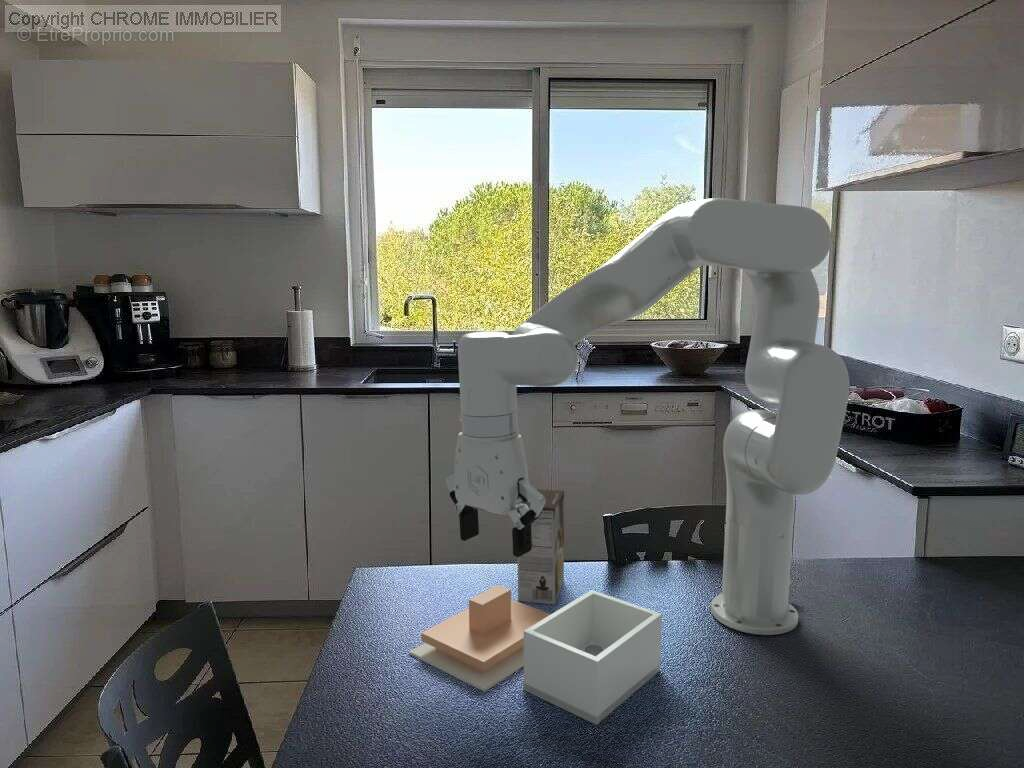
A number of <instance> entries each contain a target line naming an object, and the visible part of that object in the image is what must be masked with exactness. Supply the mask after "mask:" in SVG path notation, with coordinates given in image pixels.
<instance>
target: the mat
mask: <svg viewBox="0 0 1024 768" xmlns="http://www.w3.org/2000/svg"><path fill="white" fill-rule="evenodd" d="M408 652H409V655H410V656H412V657H415V658H416V659H419V660H420V661H422V662H424V663H426V664H428V665H431V666H432V667H434V668H437V669H438V670H440V671H442V672H445V673H447V674H448V675H450V676H452V677H454V678H456V679H458V680H460V681H462V682H464V683H465V684H468V685H470V686H471V687H474V688H476V689H478V690H480V691H482V692H483V693H485V692H487V691H488V690H490V689H491V688H492V687H494V686H496V685H497V684H499V683H500V682H502V681H503V680H505V679H506V678H508V677H509V676H511V675H512V674H514V673H515V672H516V671H519V670H520V669H522V668H524V647H523V648H522V649H520V650H519V651H517V652H515V653H514V654H512V655H511V656H509V657H508V658H506V659H504V660H503V661H501V662H500V663H498V664H497V665H495V666H493V667H492V668H490V669H489V670H487V671H486V672H484V673H482V672H480V671H478V670H476V669H474V668H472V667H470V666H468V665H466V664H463V663H461V662H459V661H457V660H455V659H453V658H451V657H449V656H447V655H445V654H443V653H440V652H438V651H436V648H435V647H433V646H431V645H429V644H427V643H424V642H423V643H422V644H420V645H419V646H416V647H415V648H412V649H410V650H409V651H408Z"/></svg>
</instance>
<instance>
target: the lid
mask: <svg viewBox="0 0 1024 768" xmlns="http://www.w3.org/2000/svg"><path fill="white" fill-rule="evenodd" d="M551 614H552V613H549V612H546V611H543V610H540V609H538V608H536V607H533V606H531V605H527V604H525V603H522V602H520V601H517V600H515V599H512V589H511V588H508V587H504V586H502V585H500V584H497V585H494V586H492V587H490V588H488V589H487V590H485V591H483V592H481V593H479V594H477V595H475V596H473V597H471V598H469V599H468V607H467V608H466V609H464V610H462V611H460V612H458V613H456V614H454V615H453V616H450V617H449V618H447V619H445V620H443V621H441V622H440V623H437V624H435V625H433V626H432V627H430V628H428V629H426V630H424V631H422V632H421V633H420V637H421V638H420V640H421V642H423V644H424V643H427V644H429V645H431V646H433V647H435V648H436V651H438V652H440V653H443V654H445V655H447V656H449V657H451V658H453V659H455V660H457V661H459V662H461V663H463V664H466V665H468V666H470V667H472V668H474V669H476V670H478V671H480V672H482V673H484V672H486V671H487V670H489V669H490V668H492V667H493V666H495V665H497V664H498V663H500V662H501V661H503V660H504V659H506V658H508V657H509V656H511V655H512V654H514V653H515V652H517V651H519V650H520V649H522V648H523V647H524V630H526V629H528V628H529V627H531V626H533V625H534V624H536V623H538V622H539V621H541V620H543V619H544V618H546V617H548V616H549V615H551Z"/></svg>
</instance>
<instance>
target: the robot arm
mask: <svg viewBox="0 0 1024 768" xmlns="http://www.w3.org/2000/svg"><path fill="white" fill-rule="evenodd" d="M831 245H832V232H831V228H830V226H829V223H828V221H827V220H826V219H825V218H824V216H823V215H821V214H820V213H819V212H817V211H816V210H814V209H812V208H809V207H806V206H800V205H792V204H790V205H789V204H780V203H770V202H759V201H753V200H752V201H751V200H742V199H741V200H740V199H734V198H733V199H732V198H724V197H712V198H705V199H698V200H693V201H688V202H683V203H681V204H679V205H676V206H675V207H672V208H671V209H669V210H668V212H666V213H665V214H663V216H661V217H660V218H659V219H658V220H656V221H655V222H654V223H653V224H651V225H650V226H649V227H648V228H646V229H645V230H644V231H643V232H642V233H640V234H639V235H638V236H636V238H634V239H633V240H632V241H631V242H630V243H628V244H627V245H626V246H625V247H624V248H622V249H621V250H619V251H618V252H617V253H616V254H614V255H613V256H612V257H611V258H610V259H608V260H607V261H606V262H604V263H603V264H601V265H600V266H599V267H598V268H595V269H594V270H593V271H591V272H590V273H588V274H587V275H585V276H584V277H583V278H581V279H580V280H578V281H576V282H575V283H574V284H572V285H571V286H569V287H567V288H566V289H565V290H563V291H562V292H559V294H557V295H556V296H555V297H553V298H552V299H550V300H549V301H548V302H547V303H545V304H544V305H543V306H542V307H540V308H539V309H538V310H537V311H535V312H534V313H533V314H532V315H531V316H529V317H528V318H527V319H526V320H525V321H523V322H522V323H521V324H520V325H519V326H518V327H516V329H515V330H514V331H513V332H512V334H510V333H508V332H505V331H495V330H488V331H485V330H484V331H476V332H475V331H474V332H468V333H466V334H464V335H463V334H462V336H461V337H460V338H459V339H458V342H457V359H458V363H457V364H458V378H459V379H458V380H459V396H460V397H459V398H460V400H459V401H460V412H459V414H458V420H459V421H460V422H461V432H459V433H458V435H457V439H456V446H455V453H454V454H455V455H454V473H452V474H451V475H449V476H446V477H445V479H444V481H445V484H446V488H447V489H448V492H449V498H450V499H451V501H452V502H453V503H454V505H455V506H454V510H455V512H457V513H458V514H459V515H458V517H459V518H458V519H459V535H460V536H459V537H460V540H461V541H464V542H466V541H468V540H471V539H472V538H474V537H476V536H479V534H480V529H479V528H480V527H479V526H480V525H479V510H480V511H481V510H482V511H485V512H490V513H493V514H499V515H507V514H508V515H509V518H510V519H511V521H512V523H513V524H514V525H515V526H514V527H512V530H511V536H512V554H513V556H514V557H516V558H518V557H520V556H522V555H524V554H525V553H527V552H529V551H531V549H532V535H531V524H533V523H534V522H535V520H536V519H537V518H538V517H539V516H540V515H541V511H542V509H543V507H544V505H545V502H546V498H545V497H544V496H543V495H542V494H541V493H539V492H538V491H537V490H536V488H535V487H533V486H532V485H531V484H530V483H529V472H528V465H527V456H526V451H525V447H524V441H523V438H522V435H521V434H519V419H518V418H519V415H518V393H517V386H527V387H528V386H529V387H543V388H547V387H548V388H549V387H555V386H558V385H562V384H563V383H565V382H567V381H568V380H569V379H570V378H571V377H572V376H573V374H575V373H576V372H575V371H576V369H577V367H578V363H579V356H578V355H579V354H578V350H577V347H576V345H577V344H578V343H580V342H581V341H583V340H584V339H585V338H587V337H589V336H590V335H592V334H593V333H596V332H597V331H599V330H601V329H603V328H605V327H608V326H611V325H614V324H619V323H622V322H626V321H628V320H630V319H633V318H635V317H638V316H640V315H642V314H644V313H645V312H647V311H648V310H649V309H651V308H652V307H653V306H654V305H655V304H656V303H658V301H660V300H661V299H662V298H663V297H664V296H666V295H667V294H669V292H671V291H672V290H673V289H675V287H677V286H678V285H679V284H680V283H682V282H683V281H684V280H685V279H687V278H688V277H689V276H691V274H692V273H694V272H695V271H696V270H698V269H700V268H701V267H702V266H710V267H711V266H714V267H724V268H733V269H741V270H742V271H743V272H744V273H745V274H746V275H747V277H748V279H749V280H750V282H751V285H752V287H753V290H754V295H755V312H754V320H753V325H752V330H751V331H752V332H751V335H750V342H749V347H748V351H747V352H748V353H747V358H746V363H745V370H744V381H745V386H746V387H747V389H748V391H749V392H750V393H751V395H753V396H755V398H757V399H760V400H762V401H764V402H766V403H769V404H771V405H774V406H776V407H777V413H775V412H773V411H769V410H765V409H752V410H751V409H749V410H746V411H744V412H741V413H739V414H738V415H736V416H735V417H734V418H733V419H732V420H731V421H730V422H729V424H728V425H727V427H726V430H725V433H724V436H723V443H722V451H723V453H722V454H723V461H724V469H725V477H726V506H725V521H724V522H725V529H724V543H723V544H724V547H723V549H724V550H723V568H722V569H723V570H722V571H723V572H722V589H721V591H722V592H721V593H719V594H717V595H715V597H713V598H712V600H711V603H710V611H711V614H712V615H713V617H714V618H715V619H716V620H717V621H718V622H719V623H721V624H722V625H724V626H726V627H728V628H730V629H733V630H735V631H739V632H742V633H746V634H751V635H758V636H759V635H761V636H775V635H781V634H786V633H789V632H791V631H793V630H795V628H797V626H798V623H799V612H798V610H797V609H796V607H794V605H792V604H791V603H790V602H789V593H790V592H789V591H790V585H791V584H792V579H791V575H790V574H791V560H792V559H791V558H792V545H793V544H792V543H793V532H794V531H793V530H794V529H793V528H794V520H795V498H794V496H803V495H804V496H806V495H809V494H811V493H814V492H816V491H817V490H819V489H820V488H821V487H822V486H823V485H824V484H825V483H826V482H827V480H828V479H829V477H830V475H831V473H832V471H833V469H834V467H835V463H836V459H837V455H838V452H839V447H840V441H841V438H842V437H841V436H842V432H843V426H844V421H845V419H846V418H845V417H846V412H847V408H848V407H847V406H848V402H849V395H850V387H851V386H850V375H849V371H848V368H847V365H846V364H845V362H844V360H843V358H842V357H841V355H839V354H838V352H836V351H835V350H834V349H831V348H830V347H828V346H825V345H821V344H819V343H816V337H817V329H818V322H819V321H818V320H819V313H820V302H821V301H820V293H819V292H820V291H819V287H818V283H817V281H816V278H815V276H814V273H813V272H812V270H813V269H815V268H816V267H818V266H819V265H820V264H822V262H824V260H825V258H826V257H827V256H828V254H829V252H830V249H831V247H832V246H831ZM528 500H529V501H530V504H531V505H530V509H529V507H528V506H527V503H528ZM518 509H519V510H520V512H521V513H522V515H523V516H522V517H521V516H520V515H519V513H518V511H517V510H518Z"/></svg>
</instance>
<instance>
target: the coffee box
mask: <svg viewBox="0 0 1024 768" xmlns="http://www.w3.org/2000/svg"><path fill="white" fill-rule="evenodd" d="M535 489H536V488H535ZM536 490H537V491H538V492H539V493H541V494H542V495H543V496H544V497H545V498H546V502H545V505H544V507H543V509H542V511H541V515H540V516H539V517H538V518H537V519H536V520H535V522H534V523H533V524H531V535H532V549H531V551H529V552H527V553H525V554H524V555H522V556H520V557H517V600H518V601H517V602H520V601H523V602H524V603H532V602H533V603H534V604H535V603H536V604H545V605H547V604H548V605H557V603H558V599H559V595H560V593H561V590H562V587H563V583H564V581H565V574H564V573H565V571H564V570H565V567H564V565H565V560H564V559H565V490H564V489H562V490H561V489H560V490H559V489H557V490H556V489H536ZM530 505H531V504H530V501H529V500H528V503H527V506H528V507H529V509H530ZM517 511H518V513H519V515H520V516H521V517H522V516H523V515H522V513H521V512H520V510H519V509H518V510H517Z"/></svg>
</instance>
